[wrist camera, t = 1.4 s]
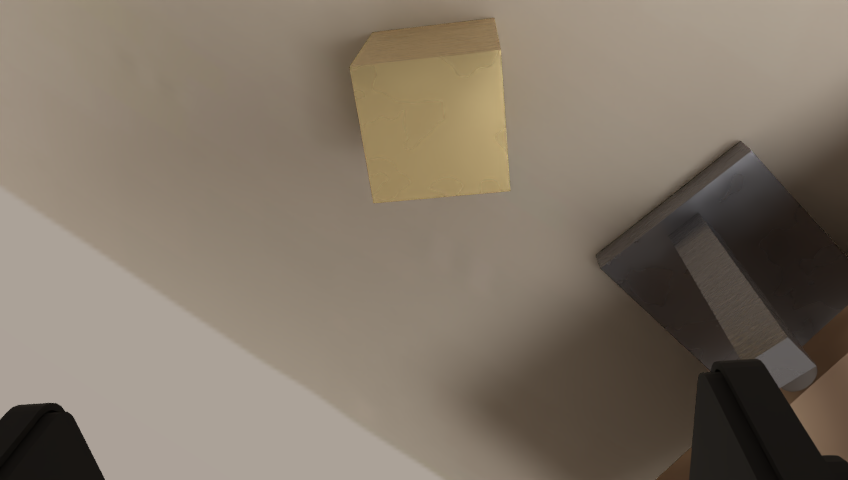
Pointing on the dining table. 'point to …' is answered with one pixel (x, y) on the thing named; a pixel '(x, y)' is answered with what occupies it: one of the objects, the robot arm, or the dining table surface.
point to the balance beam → (812, 395)
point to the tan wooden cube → (432, 111)
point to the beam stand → (734, 268)
